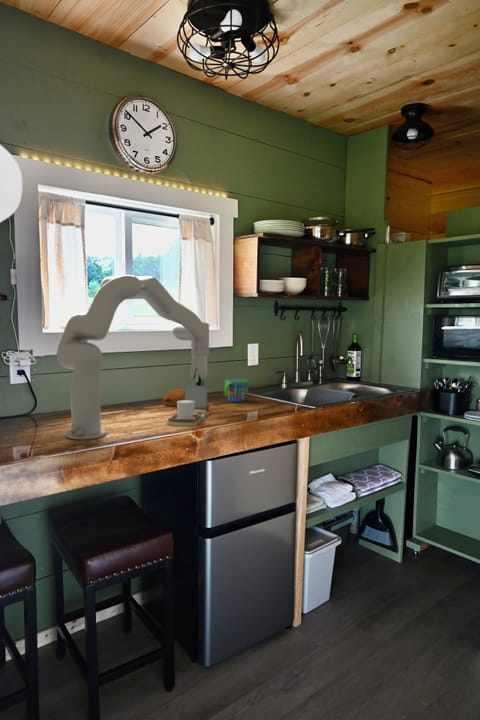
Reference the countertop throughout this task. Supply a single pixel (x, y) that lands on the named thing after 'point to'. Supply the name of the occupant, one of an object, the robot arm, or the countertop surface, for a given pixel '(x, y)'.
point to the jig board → (187, 422)
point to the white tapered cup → (185, 409)
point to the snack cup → (236, 389)
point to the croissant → (174, 397)
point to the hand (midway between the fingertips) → (199, 394)
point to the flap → (197, 396)
